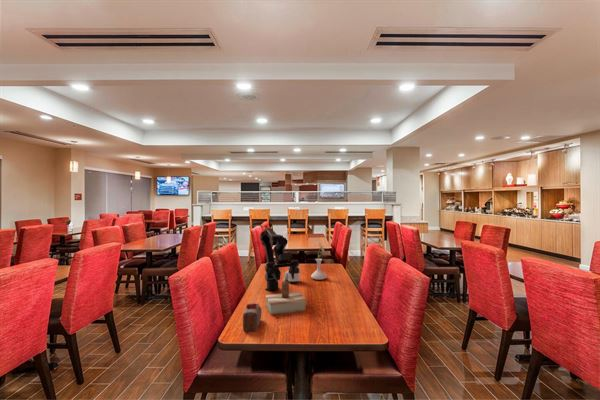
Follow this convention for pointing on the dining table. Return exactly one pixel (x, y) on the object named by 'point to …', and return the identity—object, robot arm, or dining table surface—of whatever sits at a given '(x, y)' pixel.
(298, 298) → the lid
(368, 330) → the dining table surface
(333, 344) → the dining table surface
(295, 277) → the spread jar
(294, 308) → the grey rectangular tray
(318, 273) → the flower in vase
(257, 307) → the food item
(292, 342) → the dining table surface
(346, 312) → the dining table surface
